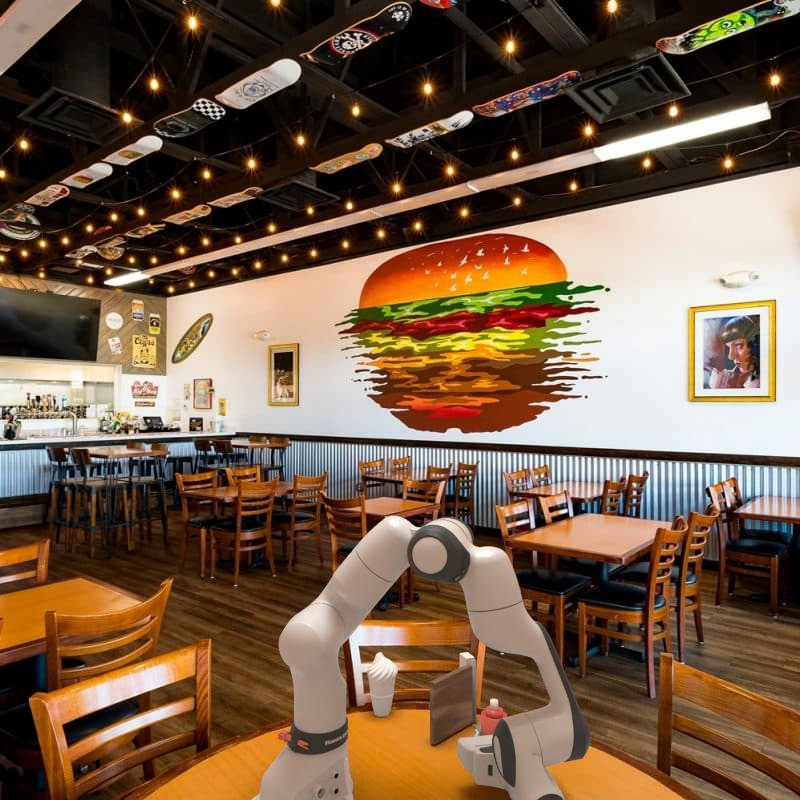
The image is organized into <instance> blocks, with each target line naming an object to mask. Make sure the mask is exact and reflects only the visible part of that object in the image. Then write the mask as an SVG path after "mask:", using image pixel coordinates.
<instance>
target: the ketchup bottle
mask: <svg viewBox="0 0 800 800" xmlns="http://www.w3.org/2000/svg"><path fill="white" fill-rule="evenodd" d="M489 701H490V702H489V705H488V706H486V707H485V708H484V710H482V711H481V712H480V724H481V730H482V731H483V736H485V735H493V734H494V731H495V728H496V726H497V724H498V722H499V721H500V720H501V719H504V718H506V717H509V716H508V714H507V712H505V711H504V709H503V707H501V706H499V699H497V698H490V700H489Z"/></svg>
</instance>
